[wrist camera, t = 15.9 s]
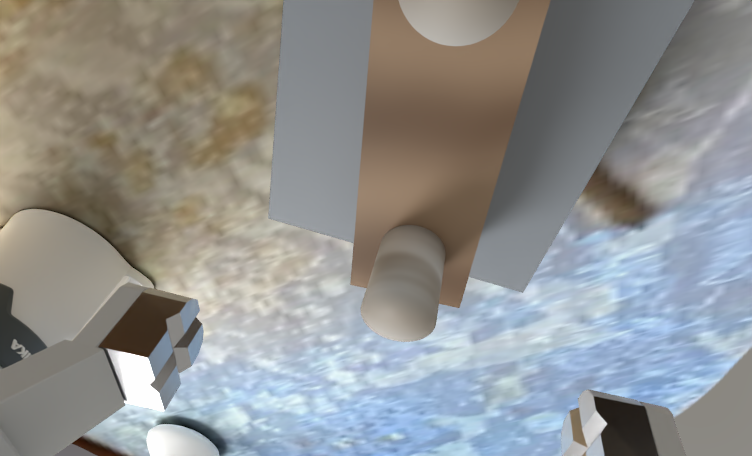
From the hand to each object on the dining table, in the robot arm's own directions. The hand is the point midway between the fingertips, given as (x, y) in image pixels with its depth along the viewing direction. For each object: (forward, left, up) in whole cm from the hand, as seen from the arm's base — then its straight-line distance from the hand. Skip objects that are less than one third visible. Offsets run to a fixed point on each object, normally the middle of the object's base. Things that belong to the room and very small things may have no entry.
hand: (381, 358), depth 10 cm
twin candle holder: (0, 0, -16) cm, 16 cm away
